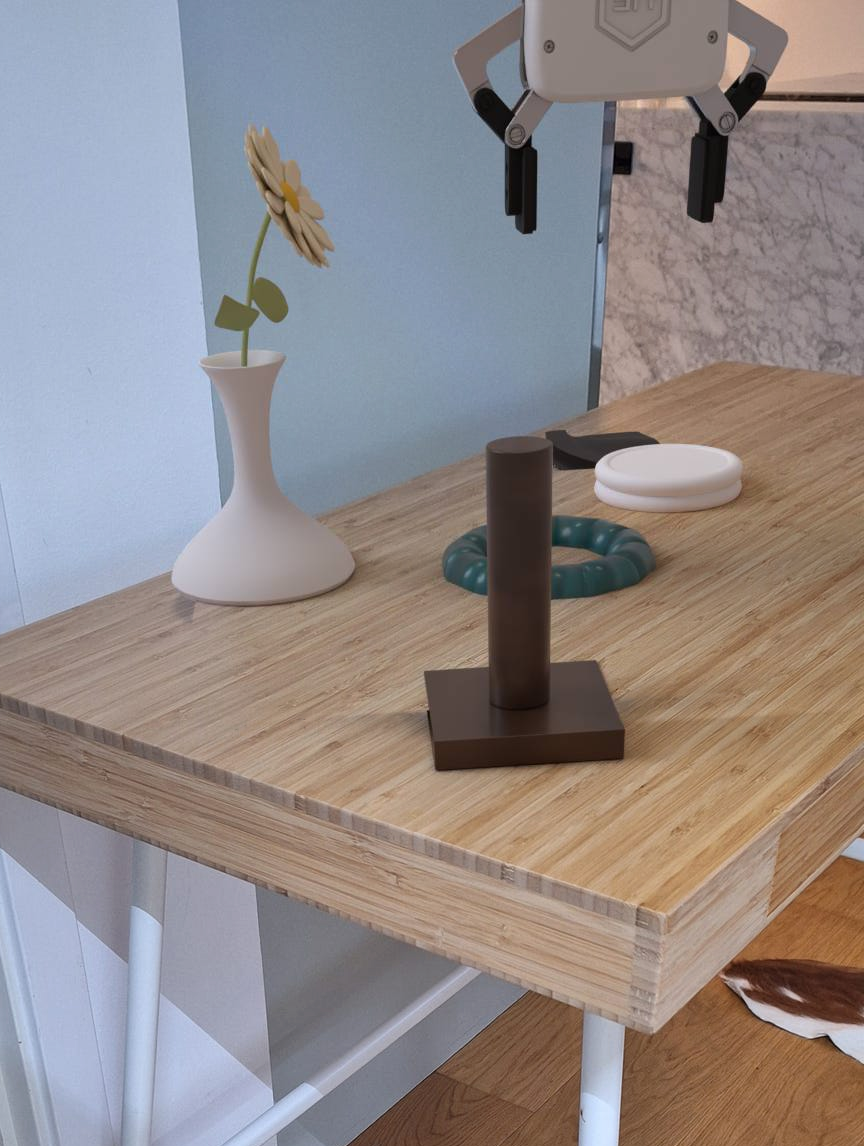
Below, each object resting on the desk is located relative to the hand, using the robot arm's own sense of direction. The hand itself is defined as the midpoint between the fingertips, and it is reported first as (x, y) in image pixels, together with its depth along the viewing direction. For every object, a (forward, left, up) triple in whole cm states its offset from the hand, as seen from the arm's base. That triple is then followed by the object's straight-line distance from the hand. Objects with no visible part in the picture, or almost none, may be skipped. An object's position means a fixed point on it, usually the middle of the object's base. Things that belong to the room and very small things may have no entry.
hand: (612, 225), depth 80 cm
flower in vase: (+20, -1, -20) cm, 28 cm away
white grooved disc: (-7, -13, -20) cm, 24 cm away
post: (+7, +22, -19) cm, 30 cm away
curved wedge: (-5, -26, -20) cm, 33 cm away
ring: (+3, +1, -18) cm, 18 cm away
